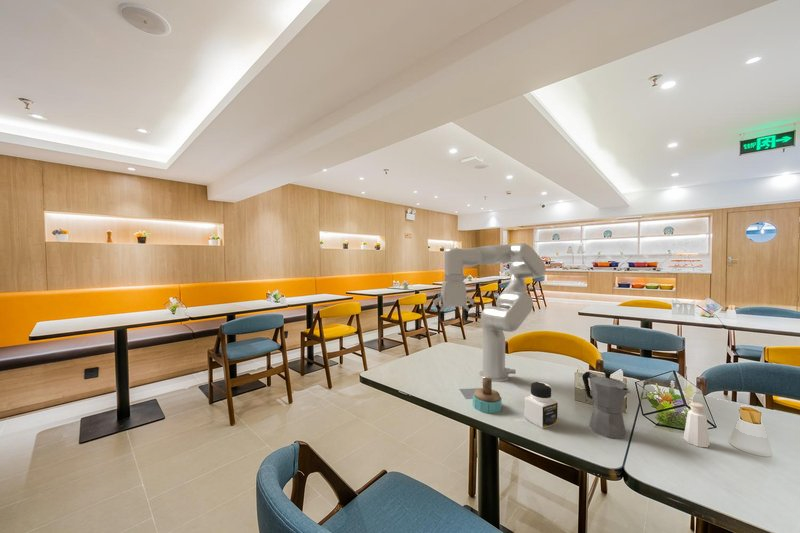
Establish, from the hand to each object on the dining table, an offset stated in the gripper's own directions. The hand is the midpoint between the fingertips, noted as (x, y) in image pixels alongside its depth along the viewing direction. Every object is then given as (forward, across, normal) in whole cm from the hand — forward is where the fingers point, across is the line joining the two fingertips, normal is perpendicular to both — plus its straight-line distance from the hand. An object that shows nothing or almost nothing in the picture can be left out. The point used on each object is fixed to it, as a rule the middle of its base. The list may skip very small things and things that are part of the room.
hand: (453, 320), depth 124 cm
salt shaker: (+28, -57, +46) cm, 78 cm away
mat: (+28, -6, +8) cm, 29 cm away
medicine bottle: (+28, -20, +29) cm, 45 cm away
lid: (+24, -6, +18) cm, 31 cm away
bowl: (+28, -6, +18) cm, 34 cm away
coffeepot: (+28, -36, +36) cm, 58 cm away
